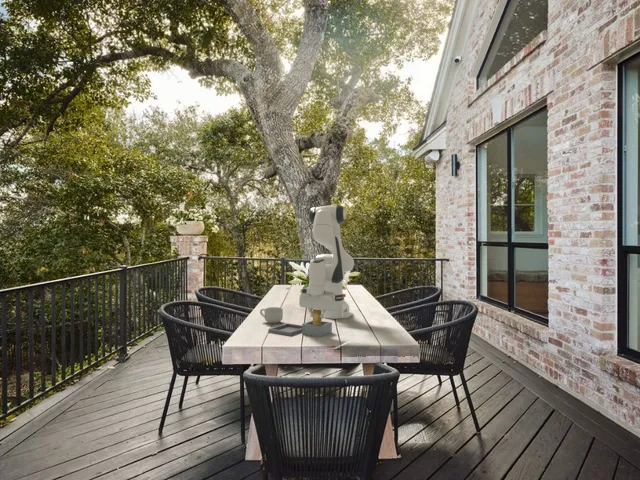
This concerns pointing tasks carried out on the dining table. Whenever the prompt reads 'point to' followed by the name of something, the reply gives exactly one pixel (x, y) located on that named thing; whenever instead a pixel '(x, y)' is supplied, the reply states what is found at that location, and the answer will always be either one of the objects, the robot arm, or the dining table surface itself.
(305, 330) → the grey open box
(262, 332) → the dining table surface
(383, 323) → the dining table surface
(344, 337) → the dining table surface
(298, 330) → the tray
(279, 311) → the teacup
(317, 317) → the peg
